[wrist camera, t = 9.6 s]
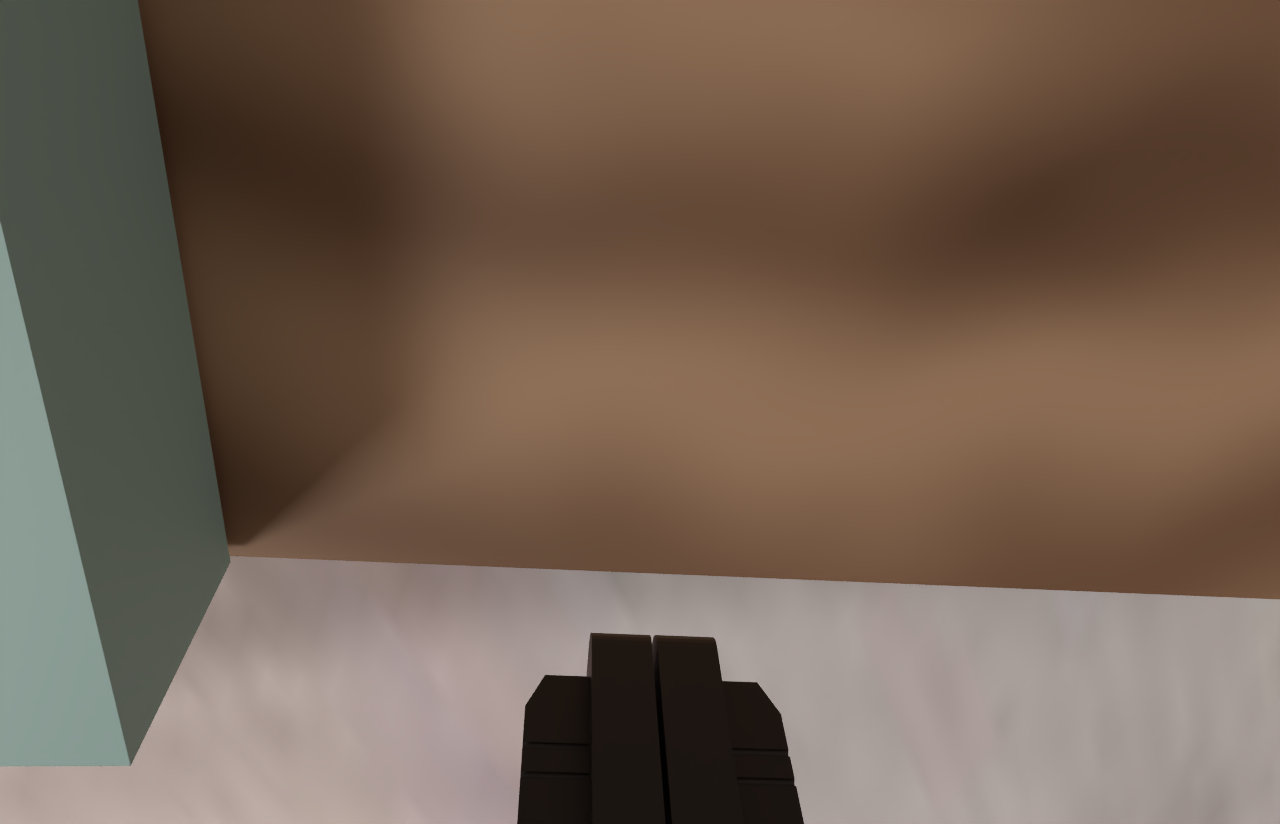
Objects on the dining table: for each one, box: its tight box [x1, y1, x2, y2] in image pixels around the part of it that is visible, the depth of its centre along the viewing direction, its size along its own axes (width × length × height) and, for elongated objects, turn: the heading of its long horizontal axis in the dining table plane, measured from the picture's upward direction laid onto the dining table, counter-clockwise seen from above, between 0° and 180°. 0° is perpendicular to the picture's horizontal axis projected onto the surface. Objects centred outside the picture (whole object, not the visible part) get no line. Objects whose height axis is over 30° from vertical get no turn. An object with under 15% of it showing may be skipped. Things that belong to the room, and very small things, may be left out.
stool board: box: [138, 0, 1280, 599], centre depth 17 cm, size 15×27×8 cm, turn 86°
